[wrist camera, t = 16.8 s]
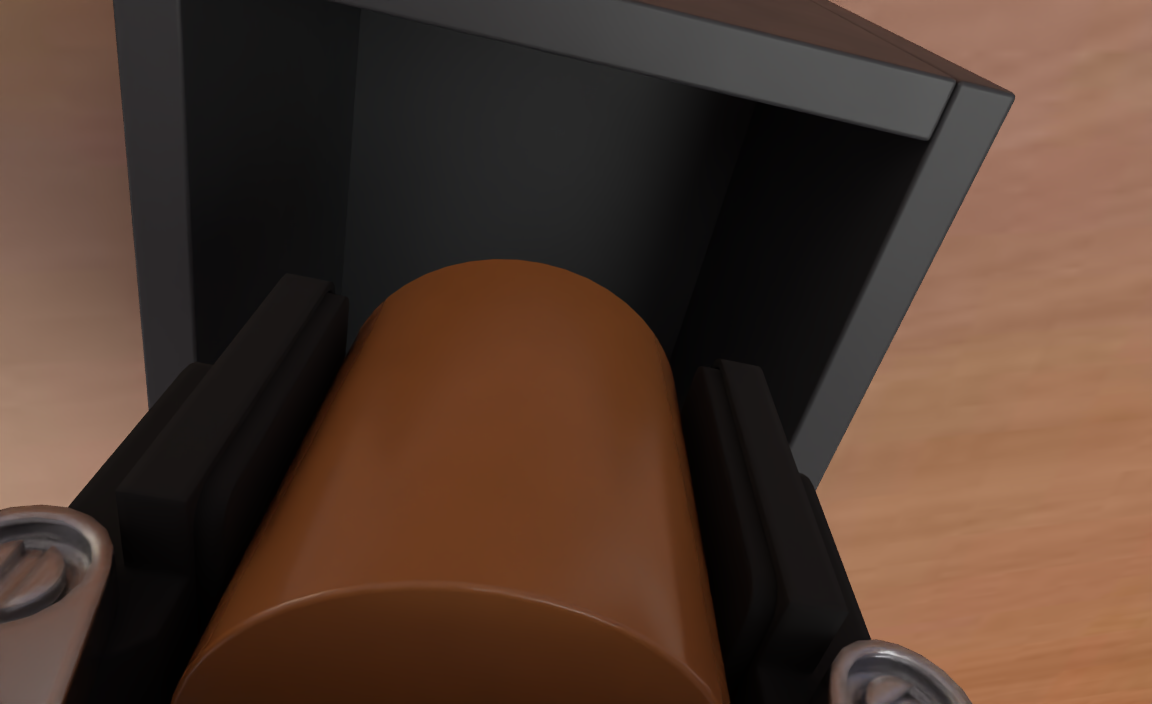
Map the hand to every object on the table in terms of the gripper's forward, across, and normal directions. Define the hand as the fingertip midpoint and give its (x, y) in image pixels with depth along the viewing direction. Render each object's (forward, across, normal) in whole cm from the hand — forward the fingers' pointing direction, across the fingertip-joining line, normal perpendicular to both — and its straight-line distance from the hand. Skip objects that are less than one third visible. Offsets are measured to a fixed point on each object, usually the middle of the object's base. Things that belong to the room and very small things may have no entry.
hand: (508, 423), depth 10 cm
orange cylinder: (0, 0, 0) cm, 0 cm away
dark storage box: (+14, 0, +3) cm, 14 cm away
